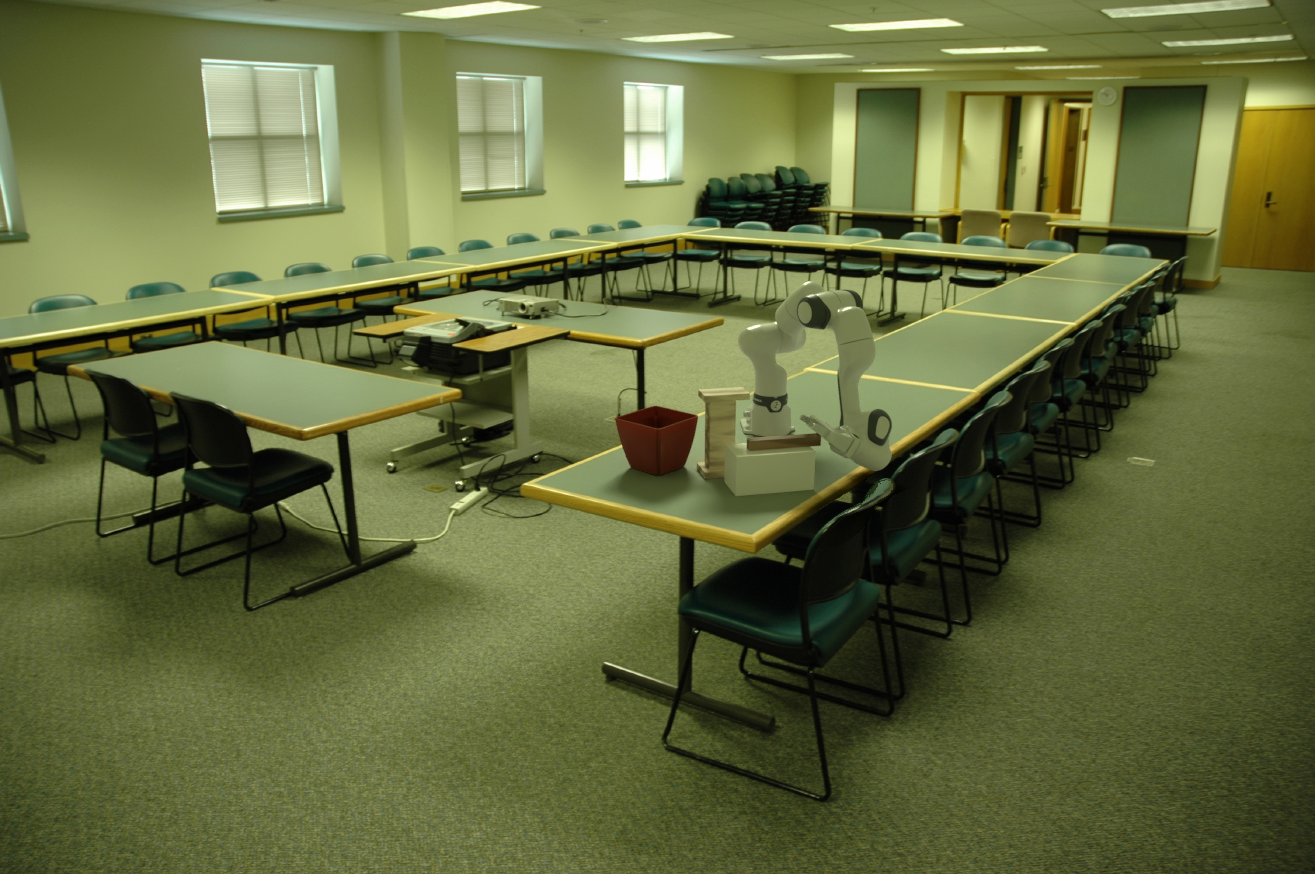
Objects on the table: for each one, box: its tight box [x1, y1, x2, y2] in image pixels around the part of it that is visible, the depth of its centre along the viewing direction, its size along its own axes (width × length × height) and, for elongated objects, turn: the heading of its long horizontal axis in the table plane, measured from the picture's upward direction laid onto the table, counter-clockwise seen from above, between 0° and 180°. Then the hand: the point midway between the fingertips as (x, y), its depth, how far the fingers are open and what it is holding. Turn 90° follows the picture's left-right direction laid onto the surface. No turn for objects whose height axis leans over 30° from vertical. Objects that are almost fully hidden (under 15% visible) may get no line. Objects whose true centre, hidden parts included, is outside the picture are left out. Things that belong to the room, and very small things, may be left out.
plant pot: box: [614, 405, 699, 477], centre depth 289 cm, size 19×19×17 cm
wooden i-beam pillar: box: [696, 386, 751, 480], centre depth 283 cm, size 10×14×26 cm
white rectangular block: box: [723, 442, 817, 497], centre depth 273 cm, size 12×24×12 cm, turn 102°
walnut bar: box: [746, 432, 822, 451], centre depth 272 cm, size 3×22×3 cm, turn 102°
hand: (806, 421), depth 271 cm, fingers open, 8 cm apart
